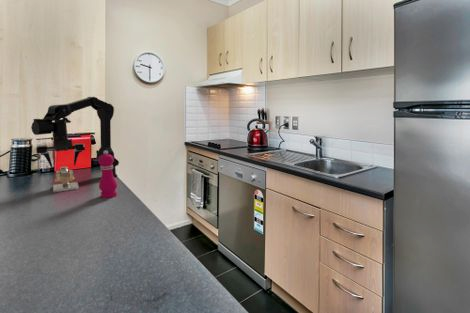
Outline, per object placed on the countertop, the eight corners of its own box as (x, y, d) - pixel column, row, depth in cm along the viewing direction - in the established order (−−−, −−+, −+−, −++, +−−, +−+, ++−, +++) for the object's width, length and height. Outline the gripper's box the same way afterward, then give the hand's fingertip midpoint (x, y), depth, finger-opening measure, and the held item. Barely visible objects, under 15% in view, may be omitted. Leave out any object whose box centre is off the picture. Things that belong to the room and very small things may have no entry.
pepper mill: (96, 196, 119) (92, 151, 116) (110, 192, 126) (107, 148, 122) (107, 199, 116) (103, 152, 112) (121, 194, 122) (118, 150, 119)
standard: (53, 186, 133) (51, 166, 131) (77, 183, 139) (75, 164, 137) (53, 192, 125) (50, 170, 123) (78, 188, 130) (76, 168, 128)
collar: (56, 177, 132) (56, 171, 131) (72, 175, 135) (72, 169, 135) (56, 180, 126) (56, 174, 126) (73, 178, 130) (72, 172, 129)
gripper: (33, 135, 115) (38, 172, 118) (84, 133, 125) (87, 167, 128) (35, 133, 125) (39, 167, 127) (82, 131, 134) (85, 163, 137)
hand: (63, 166), depth 130 cm, fingers open, 9 cm apart
